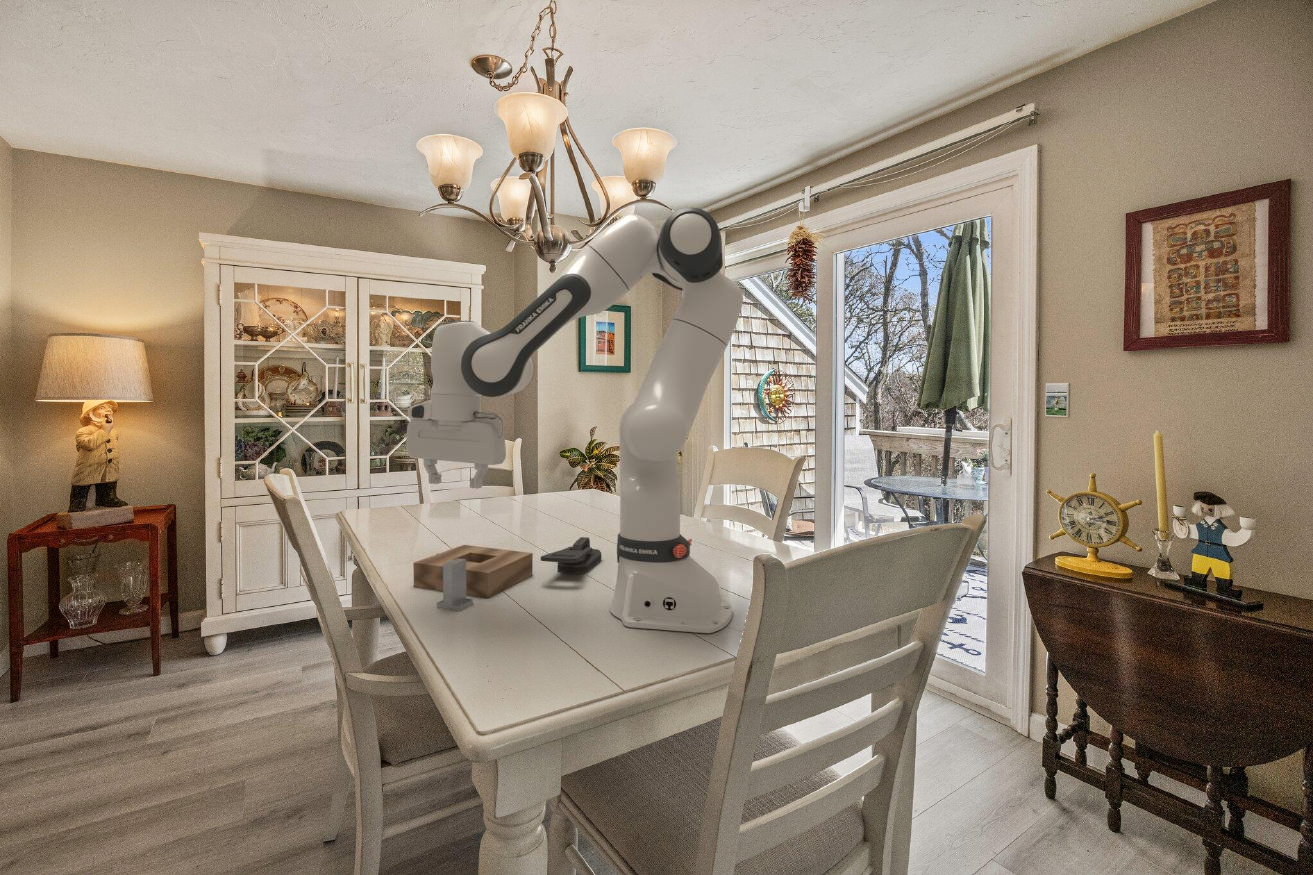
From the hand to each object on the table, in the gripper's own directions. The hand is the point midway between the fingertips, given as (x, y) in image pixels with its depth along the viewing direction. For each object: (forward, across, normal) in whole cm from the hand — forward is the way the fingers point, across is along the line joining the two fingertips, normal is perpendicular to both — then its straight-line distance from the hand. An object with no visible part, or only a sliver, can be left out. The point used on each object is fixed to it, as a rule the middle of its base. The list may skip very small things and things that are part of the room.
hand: (455, 485), depth 112 cm
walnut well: (+22, +6, -14) cm, 27 cm away
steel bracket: (+23, -1, 0) cm, 23 cm away
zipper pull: (+22, -9, -28) cm, 37 cm away
